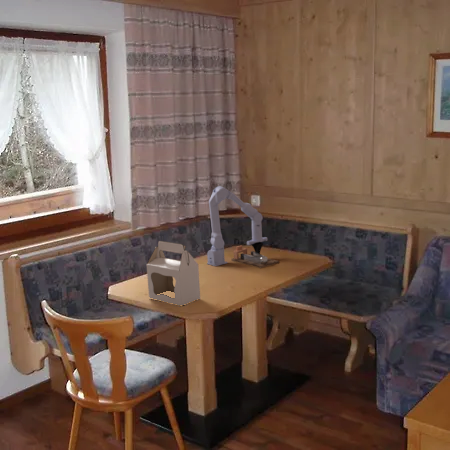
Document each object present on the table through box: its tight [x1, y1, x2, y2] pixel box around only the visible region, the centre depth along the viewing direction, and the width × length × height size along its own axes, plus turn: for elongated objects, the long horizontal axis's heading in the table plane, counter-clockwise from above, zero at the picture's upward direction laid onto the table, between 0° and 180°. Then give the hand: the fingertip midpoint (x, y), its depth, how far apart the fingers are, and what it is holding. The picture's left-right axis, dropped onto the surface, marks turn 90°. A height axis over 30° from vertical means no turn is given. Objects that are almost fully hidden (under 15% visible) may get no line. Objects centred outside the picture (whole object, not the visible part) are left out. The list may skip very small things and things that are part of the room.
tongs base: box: [239, 252, 268, 264], centre depth 369 cm, size 19×4×4 cm, turn 40°
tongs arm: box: [250, 250, 264, 257], centre depth 373 cm, size 14×2×3 cm, turn 25°
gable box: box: [146, 240, 201, 305], centre depth 309 cm, size 22×13×28 cm, turn 50°
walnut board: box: [231, 253, 280, 269], centre depth 372 cm, size 25×14×1 cm, turn 40°
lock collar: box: [233, 245, 248, 259], centre depth 378 cm, size 3×8×6 cm, turn 130°
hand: (257, 254), depth 377 cm, fingers closed
